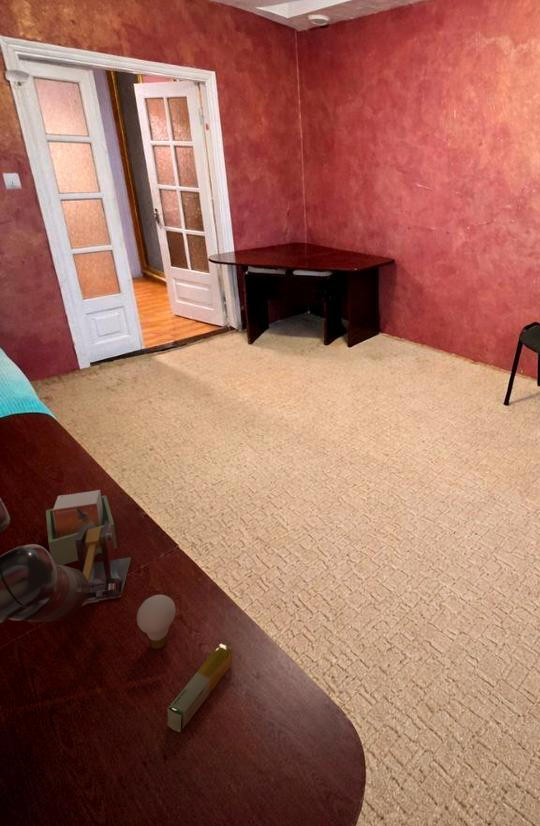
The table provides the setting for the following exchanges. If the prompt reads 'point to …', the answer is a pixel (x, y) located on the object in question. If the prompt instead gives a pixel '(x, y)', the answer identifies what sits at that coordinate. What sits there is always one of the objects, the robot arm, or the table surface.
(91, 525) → the small box
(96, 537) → the tap lever
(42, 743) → the table surface
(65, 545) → the grey-green open bin
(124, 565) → the grey metal angular piece
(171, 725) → the medication box
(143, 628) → the light bulb
